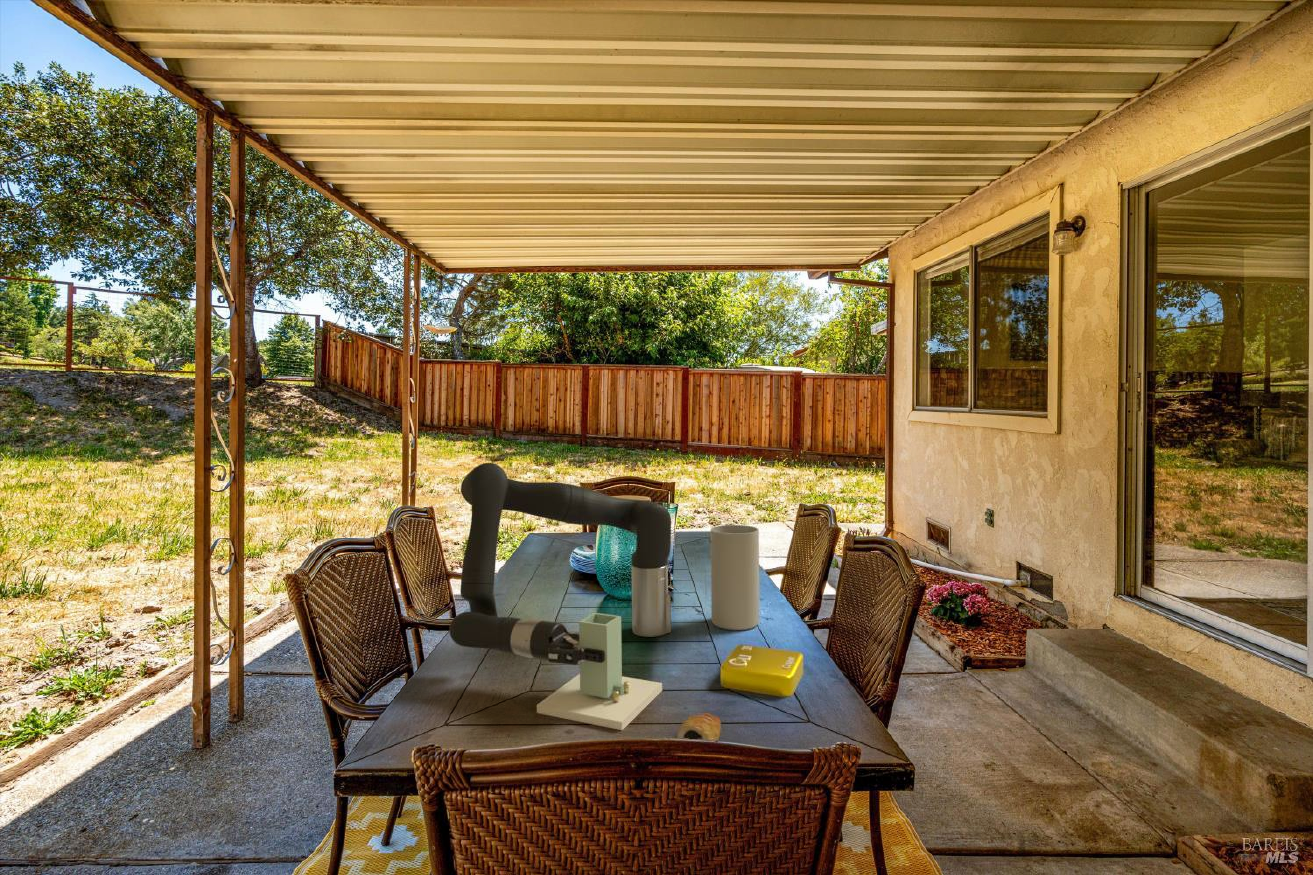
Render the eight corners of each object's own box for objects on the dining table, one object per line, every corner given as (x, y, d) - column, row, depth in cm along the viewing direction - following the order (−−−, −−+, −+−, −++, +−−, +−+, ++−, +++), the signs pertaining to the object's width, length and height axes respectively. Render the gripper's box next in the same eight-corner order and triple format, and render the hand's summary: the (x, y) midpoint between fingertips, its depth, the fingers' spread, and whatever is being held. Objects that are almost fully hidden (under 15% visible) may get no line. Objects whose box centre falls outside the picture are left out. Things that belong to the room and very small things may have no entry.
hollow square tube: (580, 692, 129) (579, 621, 128) (595, 681, 135) (594, 612, 134) (615, 699, 126) (614, 626, 125) (629, 687, 132) (628, 617, 131)
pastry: (695, 721, 123) (695, 700, 122) (730, 728, 120) (730, 707, 120) (674, 745, 114) (674, 723, 114) (711, 753, 111) (711, 731, 111)
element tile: (791, 700, 131) (791, 676, 131) (717, 688, 137) (717, 665, 137) (804, 671, 145) (804, 649, 145) (737, 662, 151) (737, 641, 151)
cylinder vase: (705, 627, 173) (704, 532, 172) (719, 613, 185) (718, 523, 183) (752, 633, 168) (752, 535, 167) (764, 618, 180) (763, 526, 179)
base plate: (536, 712, 126) (535, 665, 126) (584, 676, 143) (583, 634, 142) (622, 730, 119) (621, 680, 119) (662, 690, 135) (661, 646, 135)
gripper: (517, 632, 129) (593, 644, 123) (557, 611, 143) (628, 620, 136) (518, 670, 130) (594, 684, 123) (558, 645, 143) (628, 656, 136)
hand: (611, 650), depth 129 cm, fingers closed on hollow square tube, 6 cm apart
